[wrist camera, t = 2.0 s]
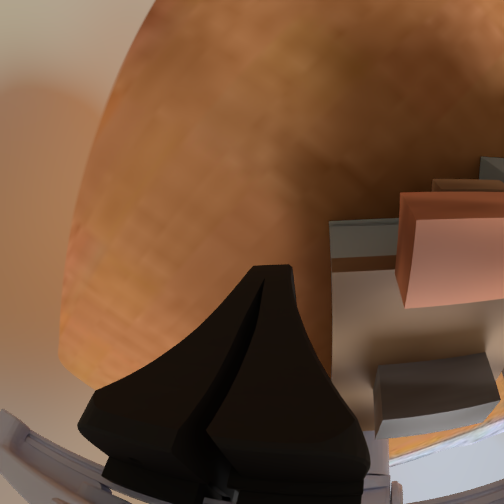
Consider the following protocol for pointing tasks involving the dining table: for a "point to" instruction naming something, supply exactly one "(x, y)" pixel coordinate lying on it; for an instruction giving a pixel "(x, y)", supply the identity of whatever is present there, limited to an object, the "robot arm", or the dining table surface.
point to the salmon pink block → (450, 248)
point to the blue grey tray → (386, 226)
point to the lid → (413, 347)
